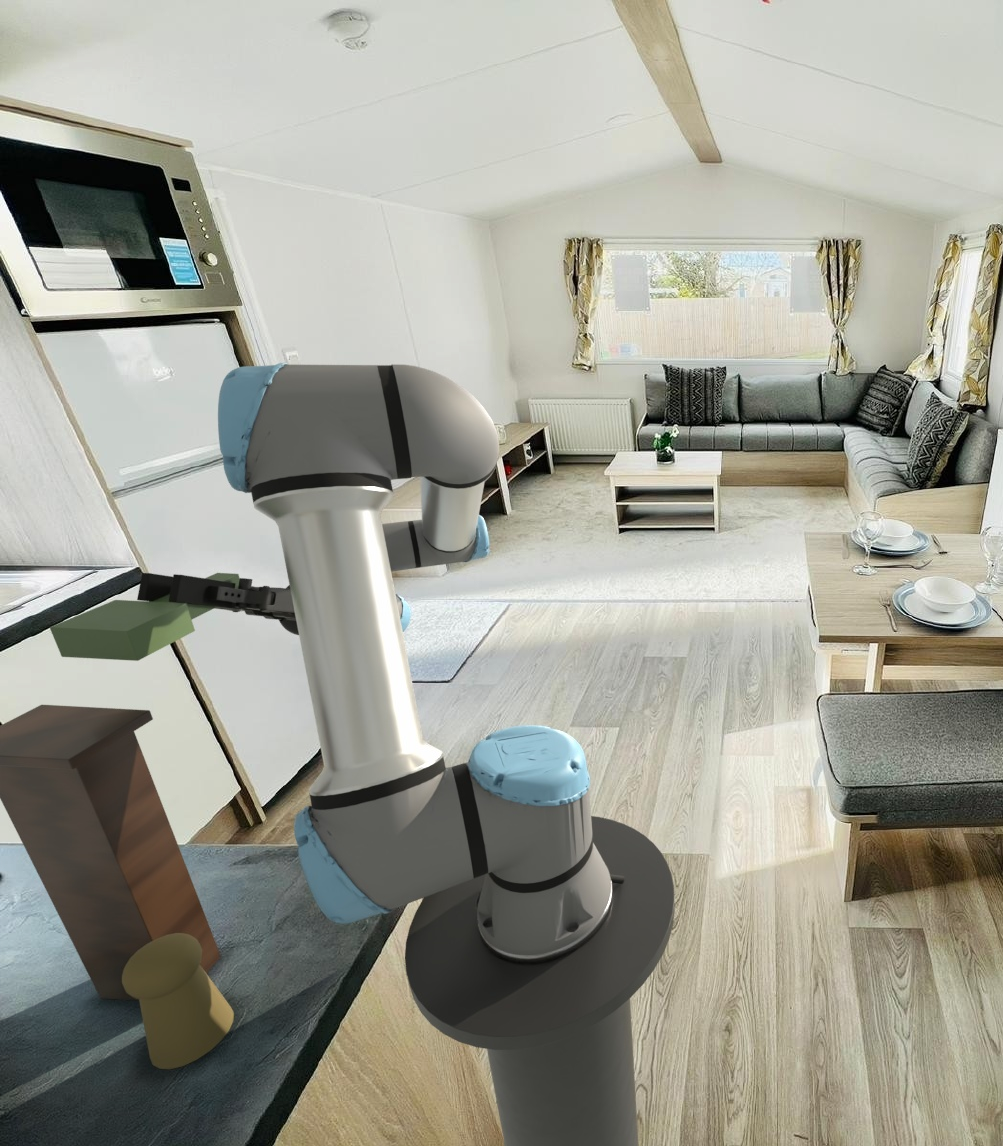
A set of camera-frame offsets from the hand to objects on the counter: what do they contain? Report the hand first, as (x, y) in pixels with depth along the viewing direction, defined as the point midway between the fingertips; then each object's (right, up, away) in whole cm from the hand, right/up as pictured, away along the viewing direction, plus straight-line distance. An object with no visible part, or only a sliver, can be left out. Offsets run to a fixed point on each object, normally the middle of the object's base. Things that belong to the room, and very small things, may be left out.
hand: (159, 587), depth 63 cm
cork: (+6, -42, -3) cm, 43 cm away
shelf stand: (-2, -40, +2) cm, 40 cm away
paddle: (0, -4, +2) cm, 4 cm away
